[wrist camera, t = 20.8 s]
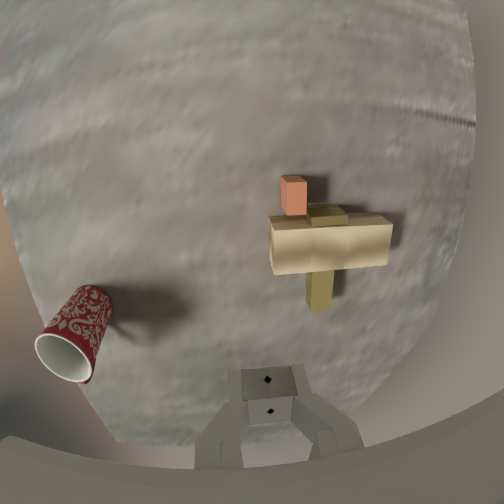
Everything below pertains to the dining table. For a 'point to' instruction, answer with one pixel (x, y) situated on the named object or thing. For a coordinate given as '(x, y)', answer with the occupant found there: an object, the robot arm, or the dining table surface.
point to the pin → (322, 281)
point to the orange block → (293, 195)
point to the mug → (76, 335)
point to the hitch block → (328, 243)
